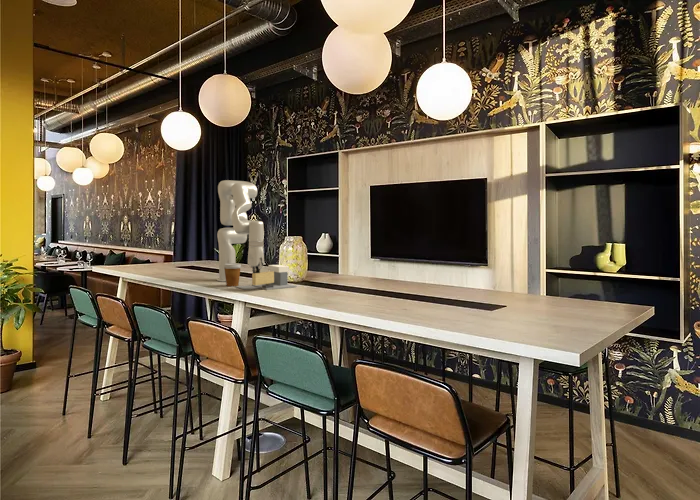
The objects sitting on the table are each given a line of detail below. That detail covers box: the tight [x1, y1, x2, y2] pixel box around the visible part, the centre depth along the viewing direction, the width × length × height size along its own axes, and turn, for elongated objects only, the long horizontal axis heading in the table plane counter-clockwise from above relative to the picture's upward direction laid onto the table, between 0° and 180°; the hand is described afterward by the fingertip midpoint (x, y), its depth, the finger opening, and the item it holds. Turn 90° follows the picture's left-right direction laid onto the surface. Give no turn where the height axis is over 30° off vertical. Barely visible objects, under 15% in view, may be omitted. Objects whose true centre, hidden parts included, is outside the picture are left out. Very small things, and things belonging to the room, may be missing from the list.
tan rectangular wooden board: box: [251, 271, 274, 286], centre depth 243 cm, size 2×14×7 cm, turn 146°
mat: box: [234, 284, 261, 291], centre depth 248 cm, size 13×8×1 cm, turn 38°
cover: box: [267, 264, 290, 273], centre depth 258 cm, size 12×6×3 cm, turn 38°
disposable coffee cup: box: [224, 263, 242, 287], centre depth 255 cm, size 10×10×12 cm
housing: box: [251, 272, 297, 291], centre depth 253 cm, size 18×18×8 cm
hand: (256, 279), depth 244 cm, fingers closed
